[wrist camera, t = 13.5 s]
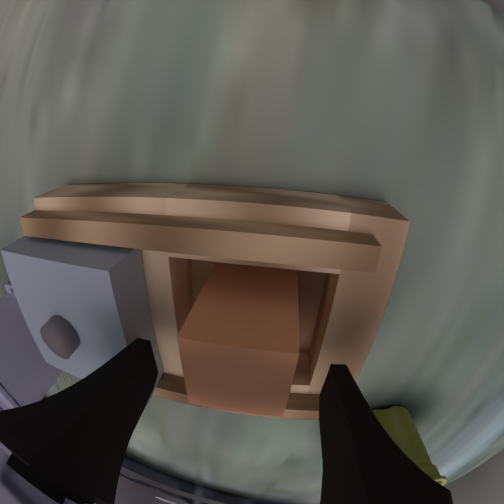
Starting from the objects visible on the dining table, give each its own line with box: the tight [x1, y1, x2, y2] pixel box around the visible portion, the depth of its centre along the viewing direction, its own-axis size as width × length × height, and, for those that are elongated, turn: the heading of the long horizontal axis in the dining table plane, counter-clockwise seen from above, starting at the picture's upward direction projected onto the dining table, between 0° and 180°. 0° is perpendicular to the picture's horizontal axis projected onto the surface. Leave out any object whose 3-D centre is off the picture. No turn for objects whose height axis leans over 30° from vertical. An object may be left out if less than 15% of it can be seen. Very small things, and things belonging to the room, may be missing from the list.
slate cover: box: [1, 236, 164, 403], centre depth 11 cm, size 8×8×4 cm
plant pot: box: [372, 406, 447, 486], centre depth 15 cm, size 9×9×9 cm
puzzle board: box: [20, 183, 410, 420], centre depth 13 cm, size 18×12×4 cm, turn 87°
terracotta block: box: [177, 262, 299, 417], centre depth 12 cm, size 4×4×6 cm
